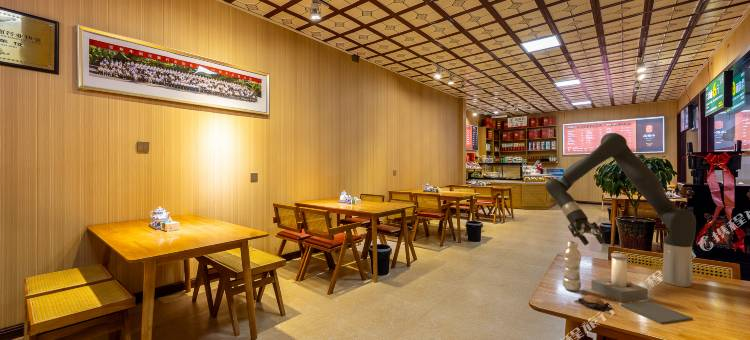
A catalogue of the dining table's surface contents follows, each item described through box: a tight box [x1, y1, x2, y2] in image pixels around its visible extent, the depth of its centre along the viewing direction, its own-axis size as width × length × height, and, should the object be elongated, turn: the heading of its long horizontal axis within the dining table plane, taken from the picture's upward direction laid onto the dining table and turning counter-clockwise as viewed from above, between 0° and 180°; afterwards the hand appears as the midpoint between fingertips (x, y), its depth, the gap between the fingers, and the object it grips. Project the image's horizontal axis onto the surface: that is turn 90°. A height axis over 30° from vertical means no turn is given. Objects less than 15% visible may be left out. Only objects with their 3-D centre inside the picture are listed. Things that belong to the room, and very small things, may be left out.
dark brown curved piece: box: [573, 294, 613, 313], centre depth 123 cm, size 11×8×4 cm
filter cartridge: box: [610, 252, 629, 288], centre depth 133 cm, size 6×6×16 cm
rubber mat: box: [619, 300, 693, 325], centre depth 117 cm, size 14×14×1 cm
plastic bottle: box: [562, 240, 582, 292], centre depth 137 cm, size 6×7×20 cm
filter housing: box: [590, 277, 649, 303], centre depth 133 cm, size 13×13×5 cm
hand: (595, 243), depth 144 cm, fingers open, 8 cm apart
